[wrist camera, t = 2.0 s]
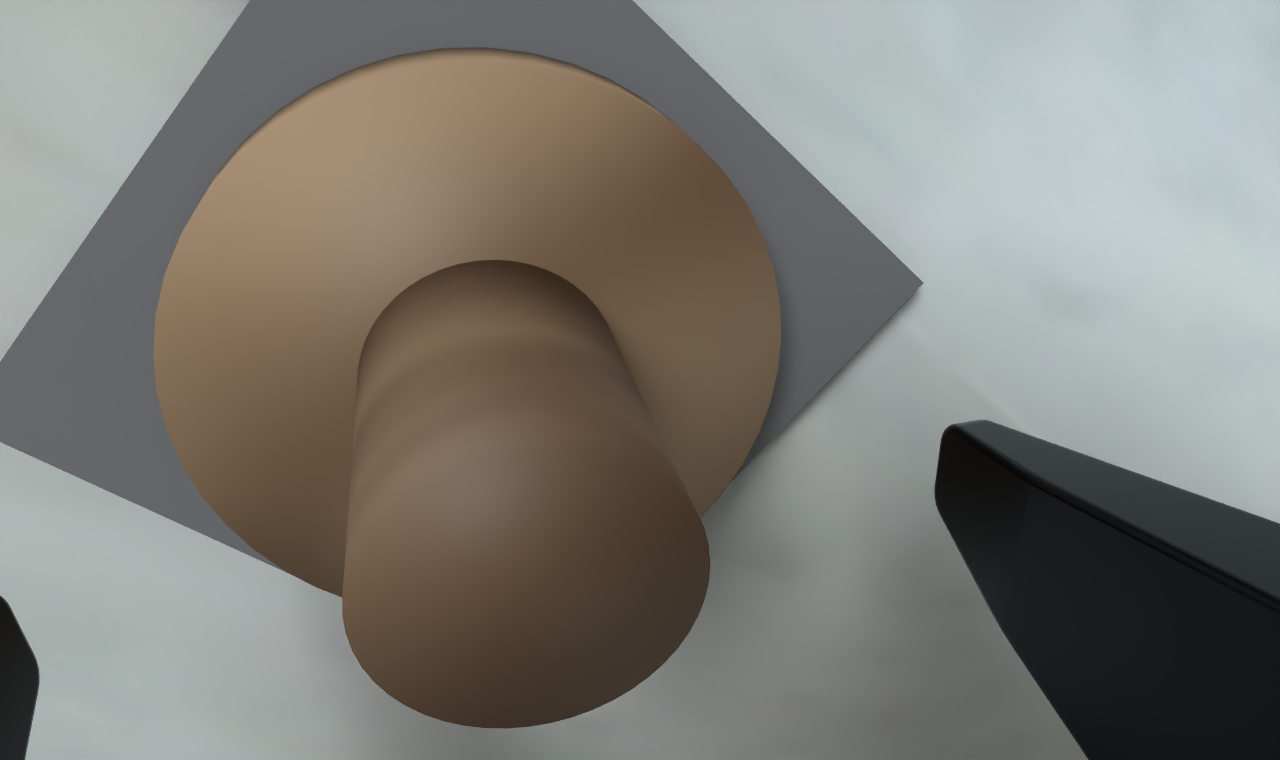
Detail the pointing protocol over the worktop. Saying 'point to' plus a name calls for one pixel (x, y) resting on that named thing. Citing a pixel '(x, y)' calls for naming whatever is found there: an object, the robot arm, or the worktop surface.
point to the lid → (474, 371)
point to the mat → (323, 49)
